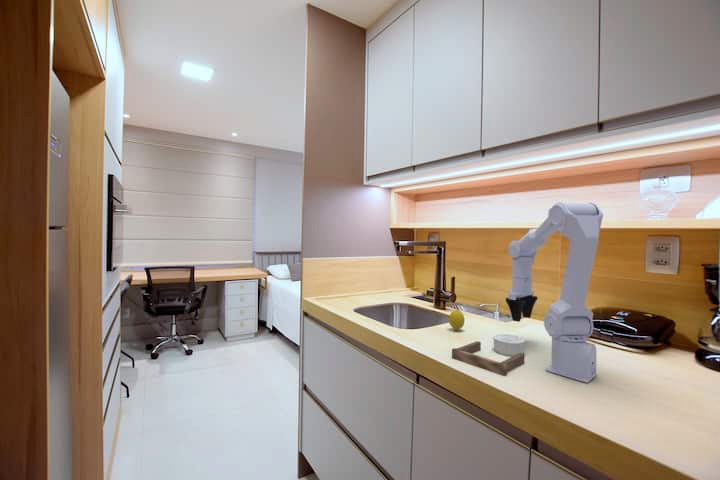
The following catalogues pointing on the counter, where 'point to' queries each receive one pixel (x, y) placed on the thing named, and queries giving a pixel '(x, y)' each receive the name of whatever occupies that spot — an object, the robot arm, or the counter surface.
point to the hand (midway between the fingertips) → (521, 319)
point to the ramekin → (508, 344)
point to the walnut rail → (494, 366)
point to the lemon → (456, 319)
